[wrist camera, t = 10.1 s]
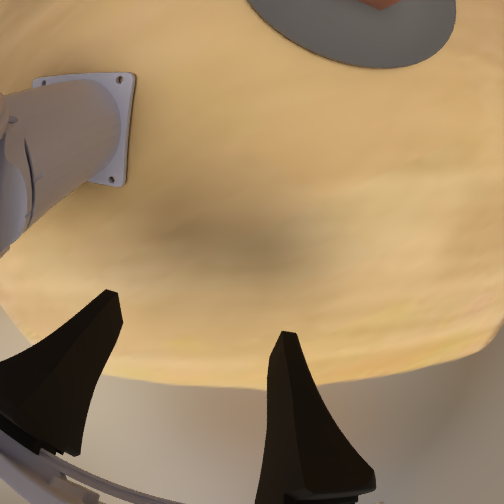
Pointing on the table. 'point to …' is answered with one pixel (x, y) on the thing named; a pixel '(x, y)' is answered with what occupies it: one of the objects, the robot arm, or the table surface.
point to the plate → (363, 29)
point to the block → (379, 3)
